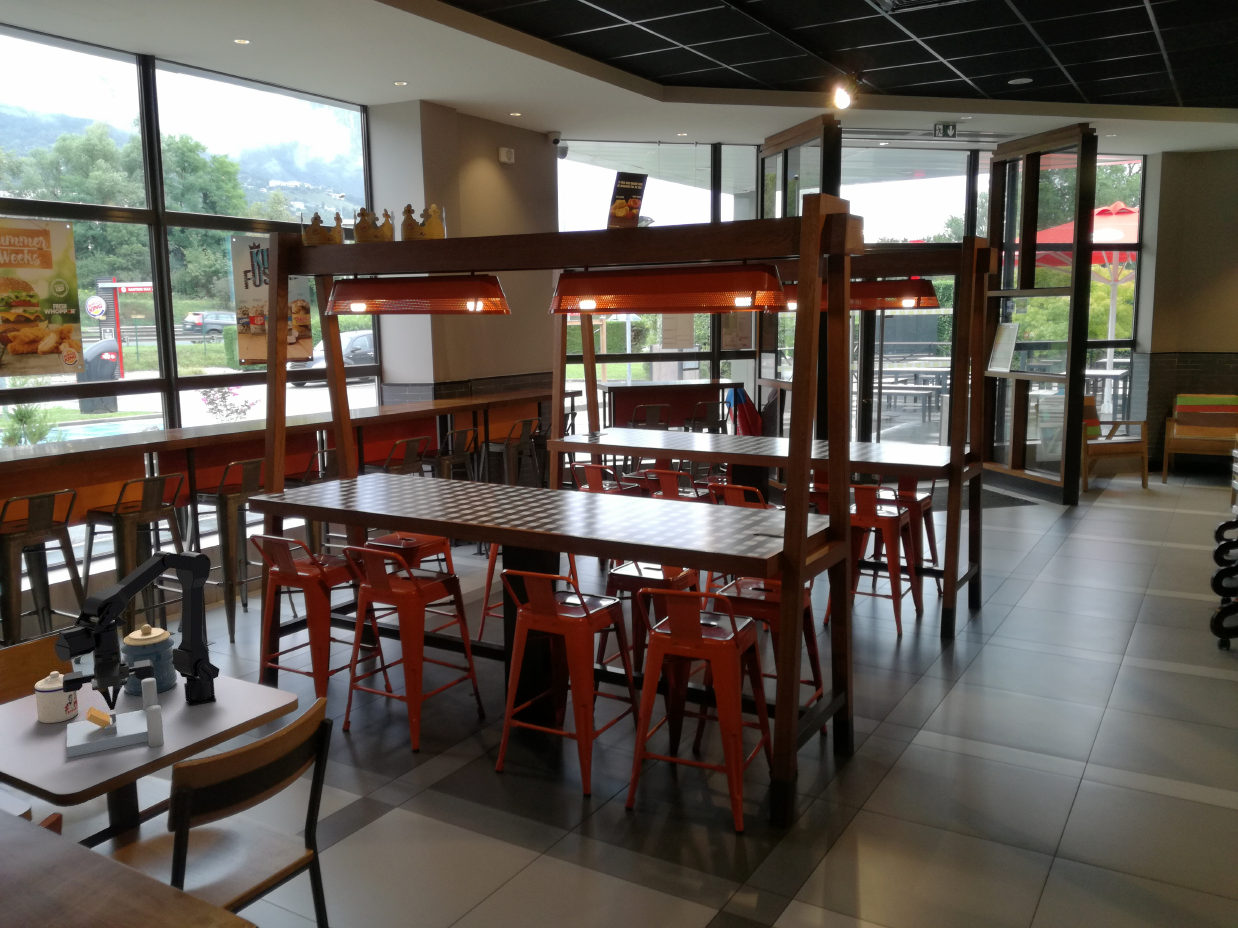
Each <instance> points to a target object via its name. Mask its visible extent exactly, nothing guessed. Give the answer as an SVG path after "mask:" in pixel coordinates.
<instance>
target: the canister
mask: <svg viewBox="0 0 1238 928" xmlns="http://www.w3.org/2000/svg"><path fill="white" fill-rule="evenodd" d="M170 637H171V633H170V632H169V631H167V630H165V629H163V628H159V627H152V626H151V625H150V624H148V623H147V624H143V625H142V626H141V628H140V629H138V630H134V631H133V632H131V633H129V634H128V635H127V636H125V637H124V638H123V643H124V644H123V645H122V646H120V652H121V654H122V655H123V656H122V658H121V662H122V663H126V662H128V664H129V667H134V662H137V661H143V660H151V661H152V664H153V672H154V676H153V677H151V678H155V679H156V690H157V694H159V693H162V692H166V691H168V690H170V689H171V688H173V687H174V686H175V685H177V679H178V676H177V675H178V674H177V670H175V668H174V664H172V661H173V653H172V651H173V649H174V648H173V646H174V644H175V640H174V639H173V638H170ZM146 679H147V678H146ZM142 680H144V679H140V680H139V679H138V678H136V677H135V675H130V677H128V678H127V685H123V688H124V691H125V693H126V694H128V695H131V696H143V695H142V683H141V681H142Z"/></svg>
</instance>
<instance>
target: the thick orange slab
mask: <svg viewBox="0 0 1238 928" xmlns="http://www.w3.org/2000/svg"><path fill="white" fill-rule="evenodd" d="M106 713H107V712H104V711H101V710H100V709H97V708H95V707H94V706H93V707H92V706H90V707H89V709H88V710H87V711H86V720H88V721H90V722H92V723H94V724H96V725H99V726H101V727H103V728H105V726H107V725H109V724H110V715H108V714H106Z"/></svg>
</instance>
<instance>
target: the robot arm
mask: <svg viewBox="0 0 1238 928" xmlns="http://www.w3.org/2000/svg"><path fill="white" fill-rule="evenodd" d="M211 567H212V562H211V558H210V557H209V556H208V555H207V554H206V553H205V554H204V553H199V552H194V551H187V550H185V551H183V552H181V553H174V552H170V551H165V550H158V551H155V552H154V553H153V554H152V556H150V557H149V559H147V560H145V561H144V562H143V563H141V565H140V566H138V567H136V568H135V569H134V570H132V572H130V573H129V574H127V576H125V577H124V578H122V579H121V580H120V581H118V582H117V583H115V584H113V585H111V586H109V587H105V588H103V589H101V590H98V591H97V592H96V593H93V594H92V595H89V596H88V597H87V598H85V600H84V603H83V604H84V605H83V608H82V610H81V612H80V613H79V615H78V617H77V619H76V620H75V622H74V628H72V629H67V630H62V631H59V632H58V637H57V638H56V640H55V644H54V645H53V646H54V651H55V654H56V657H57V658H58V659H59V660H60V661H61V662H64V663H66V662H69V661H72V660H75V659H78V658H81V657H83V656H86V655H90V654H91V653H92V658H93V659H92V660H93V673H90V674H89V673H88V674H83V670H80V671H74V672H73V671H72V672H69V673H64V674H63V675H64V676H63V692H65V693H67V692H72V691H76V692H77V691H80V690H81V689H82V688H83V685H85V684H91V690H92V691H94V692H95V691H97V692H99V693H100V694H101V696H102V697H103V700H104V701H105V703H106V704H107V706H108V709H110V711H114V710H115V708H116V704H117V700H118V699H119V694H120V691H121V689H122V687H124V685H127V678H128V677H130V675H135V677H136V678H138V679H139V680H140V679H146V678H151V677H153V676H154V672H153V664H152V661H151V660H143V661H137V662H134V667H129V664H128V662H126V663H122V652H121V650H120V649H121V646H120V645H121V642H120V634H119V627H121V626H124V625H126V624H128V621H127V620H125V619H122V618H121V616H120V615H121V614H123V612H124V611H125V610H126V609H127V607H128V605H129V602H130V601H131V599H132V598H134V597H135V596H136V595H138V594H139V593H140V592H141V591H142V590H144V589H145V588H147V586H149V585H150V584H151V583H152V582H153V581H155V580H156V579H157V578H159V577H160V576H161V575H162V574H164V573H165V572H166V571H167V570H168V569H174V570H175V574H176V578H177V579H178V582H179V583H180V585H181V588H182V589H181V593H182V594H181V642H180V643H179V645H178V646H177V648H173V651H172V653H173V661H172V664H174V668H175V670H176V672H178V673H179V674H180V676H181V677H182V678H185V681H186V682H185V683H184V684H183V685H184V698H185V702H188V706H195V705H200V704H201V705H202V704H204V703H210V702H215V700H216V701H217V698H216V694H215V682H214V681H215V679H216V678H218V677H219V674H220V668H219V667H217V666H215V664H213V663H211V660H210V653H209V651H208V649H207V647H206V645H205V642H204V640H203V639H204V638H203V637H204V635H203V634H204V632H203V631H204V630H203V629H204V627H203V626H204V625H203V623H204V622H203V621H204V586H205V584H206V583H207V581H208V579H209V578H210V572H211ZM91 619H92V620H96V621H97V622H96V621H92V620H91ZM109 688H112V690H111V692H112V693H110V689H109Z"/></svg>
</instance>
